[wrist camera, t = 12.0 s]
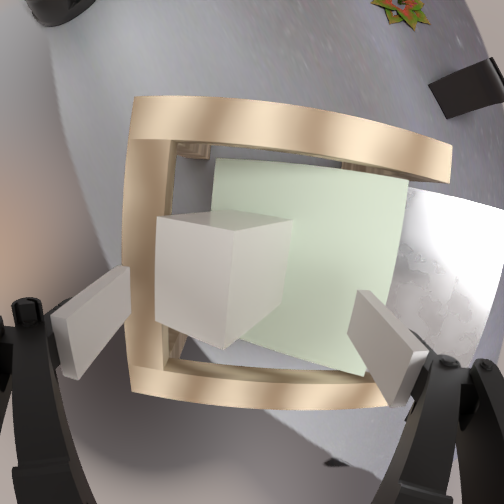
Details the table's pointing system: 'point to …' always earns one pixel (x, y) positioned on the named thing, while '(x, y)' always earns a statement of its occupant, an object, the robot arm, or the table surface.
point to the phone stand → (470, 88)
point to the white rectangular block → (219, 272)
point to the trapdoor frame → (160, 204)
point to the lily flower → (404, 11)
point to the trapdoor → (368, 257)
